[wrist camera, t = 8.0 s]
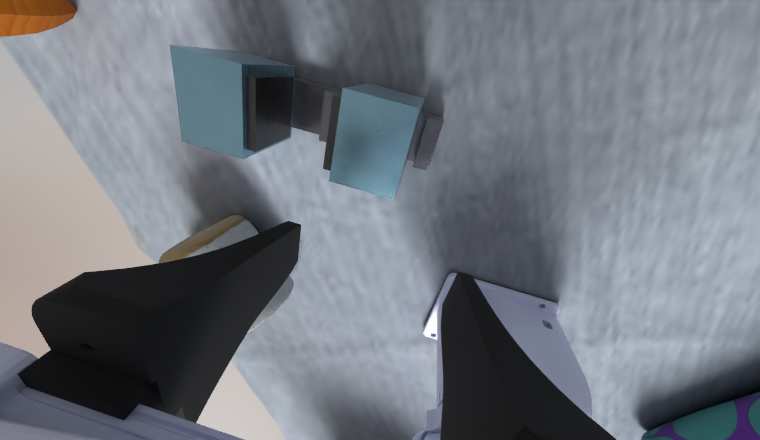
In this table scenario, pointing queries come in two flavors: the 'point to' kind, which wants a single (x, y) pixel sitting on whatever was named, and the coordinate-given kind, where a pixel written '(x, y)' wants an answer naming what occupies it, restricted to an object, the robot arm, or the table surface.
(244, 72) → the rail
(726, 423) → the pencil case
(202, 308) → the robot arm
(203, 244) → the ceramic mug
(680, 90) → the table surface
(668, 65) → the table surface
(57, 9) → the carrot
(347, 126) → the teal brushed-finish brick
